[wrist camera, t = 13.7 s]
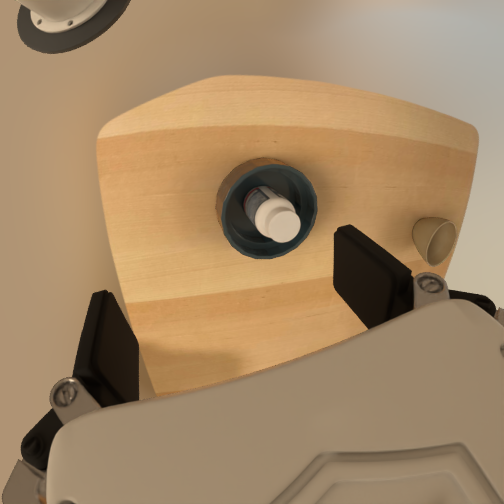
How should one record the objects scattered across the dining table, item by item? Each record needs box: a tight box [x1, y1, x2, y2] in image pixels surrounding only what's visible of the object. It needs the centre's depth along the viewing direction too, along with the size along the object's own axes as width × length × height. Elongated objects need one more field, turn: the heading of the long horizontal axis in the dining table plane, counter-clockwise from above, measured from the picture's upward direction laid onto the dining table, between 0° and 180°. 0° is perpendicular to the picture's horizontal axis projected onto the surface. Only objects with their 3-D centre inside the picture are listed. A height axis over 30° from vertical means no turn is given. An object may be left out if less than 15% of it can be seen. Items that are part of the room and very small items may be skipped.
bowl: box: [215, 158, 317, 259], centre depth 39 cm, size 13×13×5 cm
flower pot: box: [412, 217, 457, 267], centre depth 50 cm, size 10×10×7 cm
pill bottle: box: [243, 186, 300, 243], centre depth 36 cm, size 5×5×9 cm
